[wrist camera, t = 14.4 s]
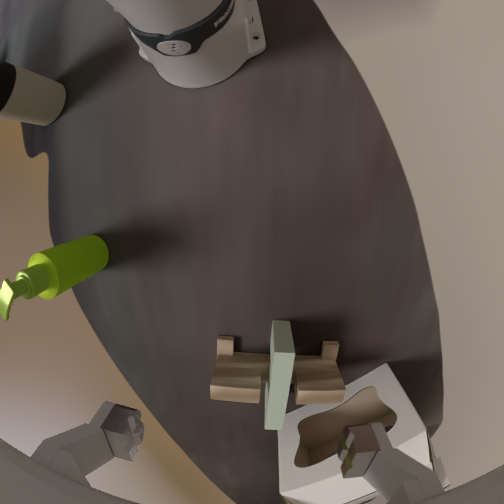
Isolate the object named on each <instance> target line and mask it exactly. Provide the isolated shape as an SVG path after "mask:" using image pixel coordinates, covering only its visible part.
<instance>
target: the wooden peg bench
mask: <svg viewBox="0 0 504 504" xmlns="http://www.w3.org/2000/svg"><path fill="white" fill-rule="evenodd" d="M338 349H339V343H338V341H323V344H322V349H321V354H320V356H304V355H295V358H294V364H293V371H292V377H291V384H294V391H295V399H296V404H340V403H342V402H343V399H344V396H345V392H346V388H345V385H344V383H343V380H342V377H341V375H340V372H339V369H338V367H337V364H336V358H337V354H338ZM270 362H271V360H270V354H258V353H243V352H234V337H232V336H221V335H218V338H217V362H216V366H215V369H214V373H213V377H212V381H211V384H210V396H211V399H216V400H225V401H236V402H249V403H259V399H260V386H261V382H265V383H268V380H269V371H270Z"/></svg>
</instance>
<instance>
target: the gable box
mask: <svg viewBox="0 0 504 504" xmlns="http://www.w3.org/2000/svg"><path fill="white" fill-rule="evenodd" d="M345 388H346V392H345V396H344V399H343V402H342V403H340V404H307V405H305V406H303V407H301V408H299V409H296V410H294V411H292V412H290V413H287V414H285V416H284V422H283V427H282V430H278V453H279V486H280V495H281V497H282V498H283V500H284V502H285V503H286V504H359V503H362V502H364V501H367V500H369V499H371V498H374V497H376V496H378V495H380V493H379V492H378V491H377V490H376V489H375V488H373V487H372V486H371V485H370V484H369V483H368V482H367V481H366V480H365V479H364V478H363V477H355V478H345V479H343V475H342V471H341V465H342V461H341V460H339V458H338V454H336V455H333V456H331V457H330V458H328V457H329V455H330V454H332V453H333V452H335V451H337V448H338V442H339V440H340V438H341V437H343V429H344V427H345V426H347V425H358V424H367V423H368V424H369V423H376V422H381V423H382V424H383V427H384V428H386V427H389V426H393V428H392V429H391V430H390V431H388V432H387V436H388V438H389V440H390V442H391V445H392V447H393V448H397V449H399V450H400V451H402V452H403V453H405V454H407V455H408V456H410V457H411V458H413V459H415V460H416V461H418V462H420V463H421V464H423V465H425V466H426V467H428V468H430V469H431V470H433V471H435V472H436V474H437V477H438V479H439V481H440V483H441V485H442V487H443V488H444V489H445V488H446V487H448V486H449V485H450V483H449V480H448V477H447V475H446V472H445V469H444V466H443V464H442V461H441V459H440V458H438V459H436V456H435V453H434V449H433V446H432V443H431V440H430V437H429V433H428V430H427V428H426V426H425V425H424V423H423V421H422V420H421V418H420V416H419V414H418V413H417V411H416V409H415V408H414V406H413V404H412V403H411V401H410V399H409V398H408V396H407V394H406V393H405V391H404V389H403V388H402V386H401V385H400V383H399V381H398V380H397V378H396V376H395V375H394V373H393V372H392V370H391V368H390V367H389V365H388V364H387V363H384V364H383V365H381V366H379V367H378V368H376V369H374V370H373V371H371V372H369V373H367V374H366V375H364V376H362V377H360V378H359V379H357V380H355V381H353V382H351V383H350V384H348V385H346V386H345Z"/></svg>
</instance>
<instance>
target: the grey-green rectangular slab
mask: <svg viewBox="0 0 504 504" xmlns="http://www.w3.org/2000/svg"><path fill="white" fill-rule="evenodd" d="M294 358H295V349H294V343H293V337H292V331H291V326H290V321H281V320H273V322H272V332H271V342H270V360H271V362H270V371H269V380H268V383H266V388H265V429H270V430H282V427H283V422H284V416H285V411H286V406H287V400H288V394H289V389H290V383H291V377H292V371H293V364H294Z"/></svg>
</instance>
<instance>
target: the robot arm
mask: <svg viewBox="0 0 504 504" xmlns="http://www.w3.org/2000/svg"><path fill="white" fill-rule="evenodd" d="M106 1H107V2H108V3H110V4H111V5H112V6H113V7H114V8H115V9H116V10H117V11H119V12H120V13H121V14H122V15H123V16H124V20H125V23H126V25H127V26H128V27H129V29H130V31H131V33H132V36H133V37H134V39H135V40H136V42H137V43H138V45H139V46H140V49H139V54H140V56H141V57H142V58H143V59H144V60H146V61H148V62H150V63H152V64H153V65H154V67H155V68H156V70H157V71H158V73H159V74H160V75H161V77H162V78H164V79H165V80H166V81H168V82H169V83H171V84H173V85H176V86H180V87H184V88H201V87H206V86H210V85H213V84H216V83H219V82H221V81H223V80H225V79H226V78H228V77H230V76H231V75H232V74H234V73H235V72H236V71H237V70H238V69H239V68H240V67H241V66H242V65H243V64H244V62H245V61H247V60H248V59H249V58H251V57H253V56H255V55H257V54H259V53H261V52H263V51H264V50H265V49H266V41H265V36H264V31H263V26H262V22H261V17H260V12H259V8H258V3H257V0H106ZM255 37H258V38H259V39H257V40H255V39H254V38H255ZM140 418H141V413H140V411H139V410H137V409H133V408H130V407H126V406H122V405H119V404H115V403H112V402H108V401H105V402H104V403H103V404H102V405H101V407H100V408H99V410H98V411H97V413H96V414H95V415H94V417H93V418H92V420H91V421H90V423H89V424H86V423H85V424H83V425H81V426H78V427H76V428H73V429H71V430H68V431H66V432H63V433H60V434H58V435H55V436H53V437H50V438H47V439H45V440H43V442H42V443H41V444H40V445H39V447H38V448H37V449H36V451H35V452H34V454H33V455H32V456H31V457H29V456H27V455H25V454H24V453H22V452H21V451H19V450H17V449H16V448H14V447H13V446H11V445H10V444H8V443H6V442H5V441H4V440H2V439H1V438H0V504H139V503H135V502H132V501H129V500H125V499H122V498H119V497H116V496H113V495H110V494H108V493H105V492H102V491H100V490H97V489H95V488H92V487H91V486H90V484H89V482H88V481H87V479H86V478H85V476H86V475H87V474H89V473H90V472H92V471H94V470H95V469H97V468H99V467H100V466H102V465H103V464H105V463H106V462H108V461H110V460H111V459H113V458H114V457H118V458H121V459H125V460H129V461H133V460H134V458H135V455H136V453H137V451H138V450H137V447H136V446H137V445H139V444H140V443H141V442H142V440H143V436H144V425H143V423H142V422H141V421H140ZM337 452H338V458H339V460H341V461H342V465H341V471H342V475H343V479H345V478H355V477H363V478H364V479H365V480H366V481H367V482H368V483H369V484H370V485H371V486H372V487H373V488H375V489H376V490H377V491H378V492H379V493H380V494H381V495H382V496H383V497H385V498H386V499H387V500H388V502H387V503H386V504H504V465H502V466H500V467H498V468H496V469H494V470H492V471H490V472H489V473H487V474H485V475H482V476H480V477H478V478H476V479H474V480H472V481H470V482H468V483H465V484H463V485H461V486H458V487H456V488H453V489H451V490H448V491H446V492H445V491H444V489H443V487H442V485H441V483H440V481H439V479H438V477H437V474H436V472H435V471H433V470H431V469H430V468H428V467H426V466H425V465H423V464H421V463H420V462H418V461H416V460H415V459H413V458H411V457H410V456H408V455H407V454H405V453H403V452H402V451H400V450H399V449H397V448H393V447H392V445H391V442H390V440H389V438H388V436H387V433H386V431H385V429H384V427H383V424H382V423H381V422H376V423H369V424H368V423H367V424H358V425H347V426H345V427H344V429H343V437H341V438H340V440H339V442H338V448H337Z"/></svg>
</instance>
